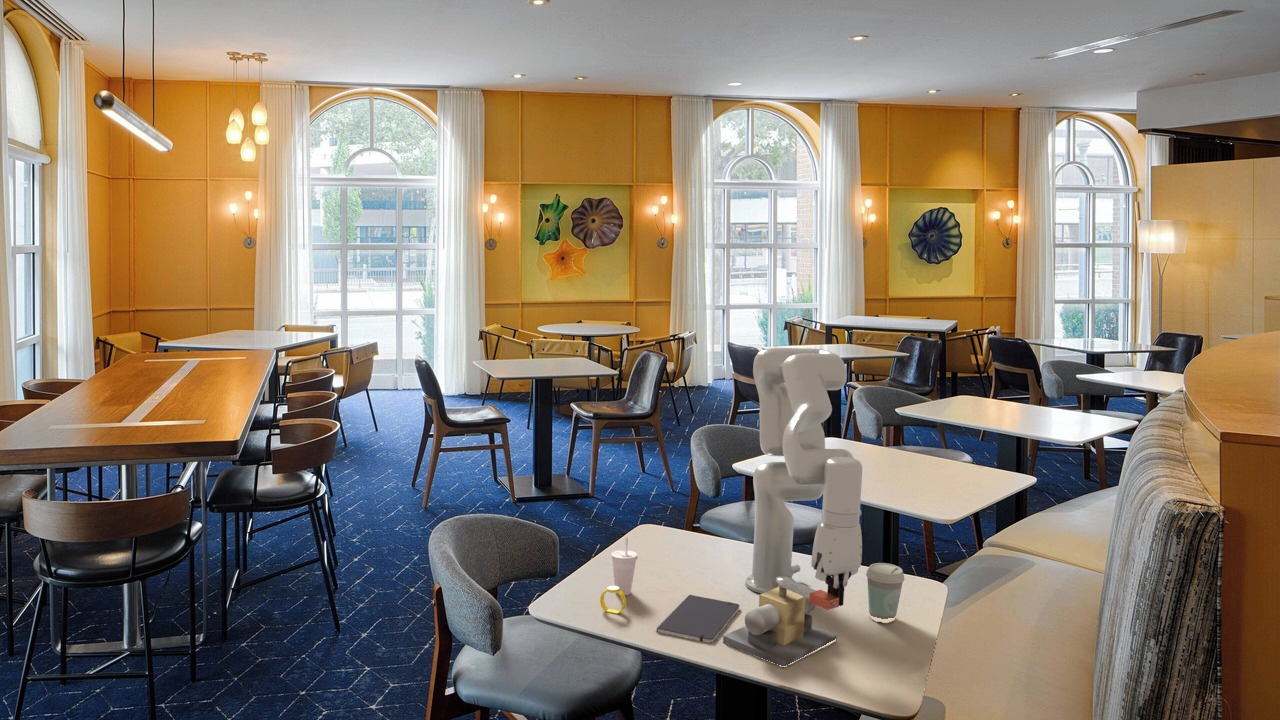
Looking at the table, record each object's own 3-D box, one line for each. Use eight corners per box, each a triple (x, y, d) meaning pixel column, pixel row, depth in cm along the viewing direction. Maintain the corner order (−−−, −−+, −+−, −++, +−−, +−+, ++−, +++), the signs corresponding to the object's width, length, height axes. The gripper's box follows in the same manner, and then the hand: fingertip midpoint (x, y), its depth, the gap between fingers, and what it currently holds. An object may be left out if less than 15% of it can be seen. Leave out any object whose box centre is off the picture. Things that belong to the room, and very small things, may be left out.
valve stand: (776, 618, 213) (779, 566, 212) (836, 641, 202) (839, 586, 200) (723, 642, 200) (725, 586, 198) (783, 668, 189) (787, 609, 187)
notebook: (689, 600, 223) (656, 634, 204) (689, 594, 223) (656, 627, 204) (740, 610, 219) (711, 646, 199) (740, 604, 218) (712, 639, 199)
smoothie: (625, 599, 221) (627, 542, 219) (604, 592, 225) (606, 536, 223) (641, 592, 226) (643, 536, 224) (620, 585, 230) (622, 530, 228)
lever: (772, 585, 200) (773, 576, 199) (783, 582, 201) (783, 573, 201) (827, 610, 187) (828, 600, 187) (838, 606, 189) (839, 597, 189)
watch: (599, 613, 214) (598, 588, 213) (604, 609, 216) (603, 584, 216) (623, 616, 211) (622, 591, 211) (627, 612, 214) (627, 586, 213)
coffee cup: (880, 628, 210) (884, 577, 208) (855, 614, 217) (858, 564, 216) (909, 622, 214) (913, 572, 212) (883, 608, 221) (887, 560, 220)
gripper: (854, 508, 197) (849, 591, 200) (800, 517, 190) (795, 603, 192) (880, 518, 191) (874, 604, 193) (825, 527, 183) (819, 617, 186)
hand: (834, 603), depth 193 cm, fingers closed
